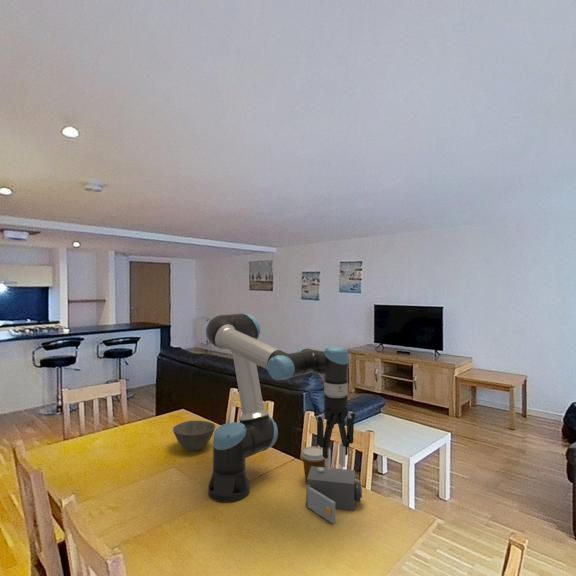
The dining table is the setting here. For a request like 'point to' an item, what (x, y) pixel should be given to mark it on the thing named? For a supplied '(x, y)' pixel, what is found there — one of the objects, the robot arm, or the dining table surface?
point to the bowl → (194, 434)
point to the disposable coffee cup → (312, 459)
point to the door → (320, 504)
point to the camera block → (336, 485)
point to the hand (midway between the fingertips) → (335, 466)
